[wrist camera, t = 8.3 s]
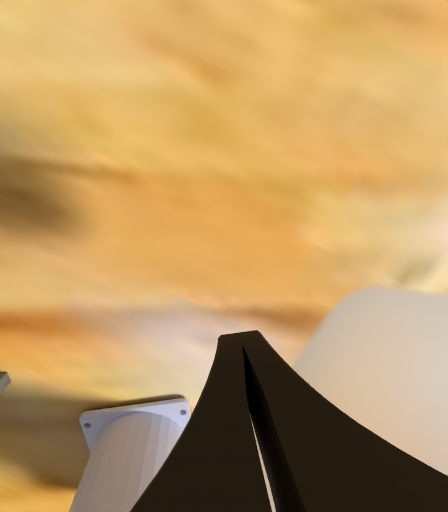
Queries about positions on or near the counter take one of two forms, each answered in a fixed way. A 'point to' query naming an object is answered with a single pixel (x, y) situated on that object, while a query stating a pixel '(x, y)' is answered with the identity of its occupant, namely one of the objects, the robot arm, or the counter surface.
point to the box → (4, 381)
